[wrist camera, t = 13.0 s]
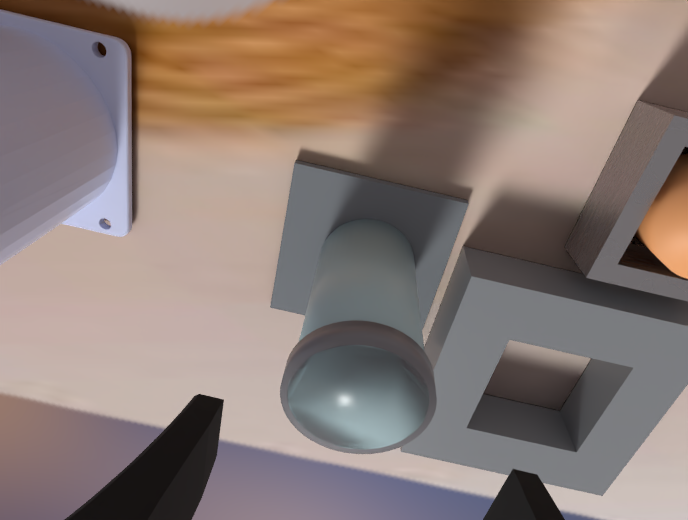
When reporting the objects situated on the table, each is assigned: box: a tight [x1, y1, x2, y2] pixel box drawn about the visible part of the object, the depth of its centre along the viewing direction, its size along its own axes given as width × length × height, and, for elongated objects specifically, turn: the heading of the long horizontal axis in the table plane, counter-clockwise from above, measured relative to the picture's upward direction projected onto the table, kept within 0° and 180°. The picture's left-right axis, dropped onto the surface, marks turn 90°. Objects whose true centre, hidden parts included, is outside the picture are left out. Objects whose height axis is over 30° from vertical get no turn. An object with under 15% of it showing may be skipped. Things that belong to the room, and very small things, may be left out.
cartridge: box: [280, 219, 437, 454], centre depth 17 cm, size 4×4×8 cm
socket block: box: [401, 246, 688, 496], centre depth 22 cm, size 10×10×2 cm
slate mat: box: [270, 160, 468, 329], centre depth 21 cm, size 7×7×1 cm
